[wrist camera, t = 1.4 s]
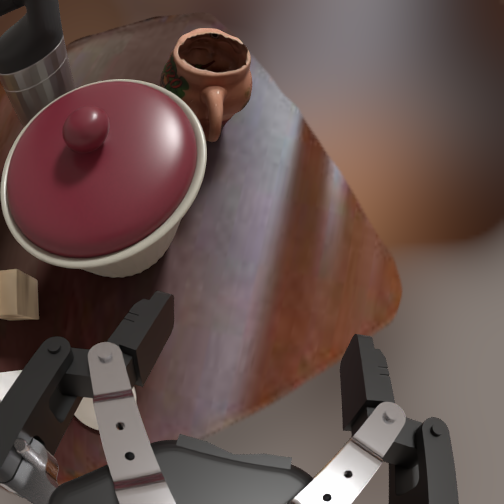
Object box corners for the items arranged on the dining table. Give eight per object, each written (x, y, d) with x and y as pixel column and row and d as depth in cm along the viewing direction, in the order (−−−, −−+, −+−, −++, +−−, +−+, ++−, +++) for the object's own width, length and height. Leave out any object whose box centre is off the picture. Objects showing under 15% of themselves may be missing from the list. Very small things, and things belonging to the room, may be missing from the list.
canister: (42, 210, 33) (-32, 112, 13) (151, 146, 40) (148, 22, 20) (99, 328, 31) (9, 310, 12) (221, 248, 38) (270, 150, 18)
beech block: (9, 320, 28) (-15, 315, 23) (8, 282, 29) (-15, 272, 24) (39, 319, 29) (17, 314, 24) (37, 280, 31) (16, 268, 25)
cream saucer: (56, 398, 27) (53, 400, 26) (87, 342, 30) (85, 342, 30) (116, 442, 28) (114, 444, 27) (150, 386, 31) (149, 387, 30)
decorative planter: (254, 169, 42) (286, 104, 29) (170, 182, 39) (171, 112, 26) (222, 78, 47) (239, 16, 34) (153, 85, 43) (155, 18, 30)
